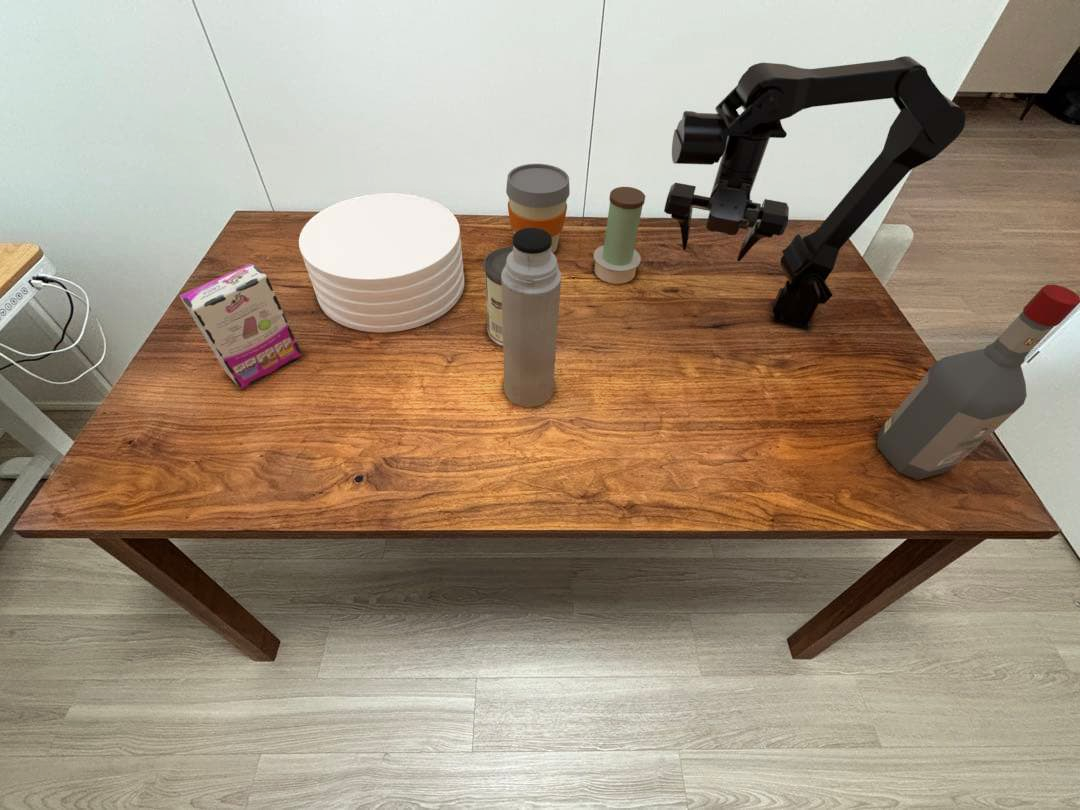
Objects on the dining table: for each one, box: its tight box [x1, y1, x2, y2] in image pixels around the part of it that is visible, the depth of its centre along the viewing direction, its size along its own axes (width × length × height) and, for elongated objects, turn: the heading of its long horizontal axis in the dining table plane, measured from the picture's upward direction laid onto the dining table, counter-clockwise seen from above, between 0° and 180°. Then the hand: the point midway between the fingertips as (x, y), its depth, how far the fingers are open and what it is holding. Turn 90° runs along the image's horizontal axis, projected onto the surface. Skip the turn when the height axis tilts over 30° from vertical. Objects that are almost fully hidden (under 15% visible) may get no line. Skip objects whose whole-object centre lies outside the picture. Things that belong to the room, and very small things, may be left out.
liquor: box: [876, 284, 1080, 481], centre depth 70 cm, size 9×9×30 cm
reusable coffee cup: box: [505, 163, 571, 254], centre depth 109 cm, size 12×13×15 cm
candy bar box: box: [179, 263, 303, 390], centre depth 83 cm, size 11×5×16 cm, turn 137°
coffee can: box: [483, 245, 513, 347], centre depth 92 cm, size 10×10×14 cm
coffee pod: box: [593, 244, 641, 285], centre depth 109 cm, size 9×9×4 cm
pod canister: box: [603, 186, 646, 265], centre depth 102 cm, size 6×6×13 cm
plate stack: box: [298, 192, 465, 333], centre depth 100 cm, size 28×28×12 cm
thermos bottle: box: [501, 228, 562, 408], centre depth 77 cm, size 8×8×28 cm
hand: (711, 254), depth 92 cm, fingers open, 9 cm apart
